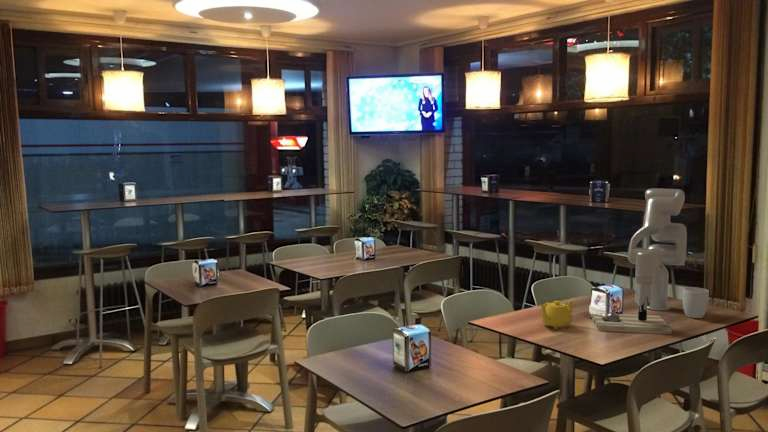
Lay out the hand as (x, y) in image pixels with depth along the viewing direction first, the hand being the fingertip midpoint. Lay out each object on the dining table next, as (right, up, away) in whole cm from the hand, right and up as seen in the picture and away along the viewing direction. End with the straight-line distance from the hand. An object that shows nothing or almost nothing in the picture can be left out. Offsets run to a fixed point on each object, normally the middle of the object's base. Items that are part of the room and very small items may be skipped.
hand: (642, 319), depth 290 cm
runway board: (-5, -3, +2) cm, 6 cm away
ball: (-12, 0, +2) cm, 13 cm away
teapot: (-38, -3, +2) cm, 38 cm away
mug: (+32, -1, +17) cm, 36 cm away
